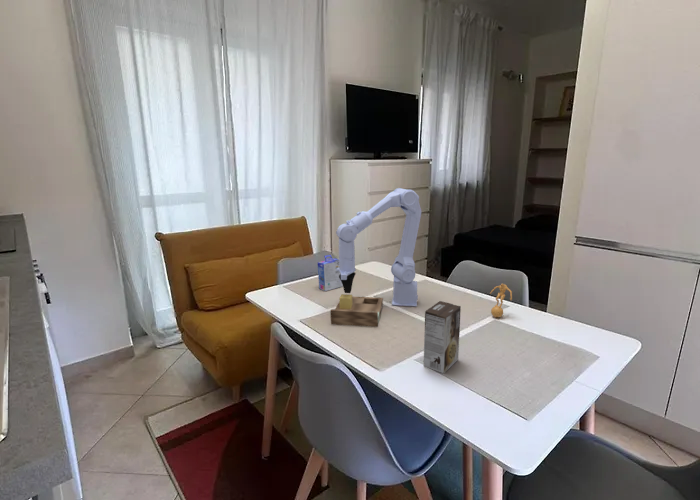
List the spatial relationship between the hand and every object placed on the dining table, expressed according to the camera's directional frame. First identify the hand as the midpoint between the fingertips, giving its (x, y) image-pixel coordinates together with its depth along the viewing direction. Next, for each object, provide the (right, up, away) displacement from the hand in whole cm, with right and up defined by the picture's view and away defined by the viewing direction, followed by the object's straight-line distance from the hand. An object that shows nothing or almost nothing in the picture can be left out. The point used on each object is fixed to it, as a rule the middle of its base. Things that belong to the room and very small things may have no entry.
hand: (347, 292), depth 139 cm
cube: (-1, -5, -2) cm, 5 cm away
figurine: (+53, -8, -7) cm, 54 cm away
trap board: (+4, -7, -2) cm, 9 cm away
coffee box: (+26, -15, -36) cm, 47 cm away
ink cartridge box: (-8, -1, +27) cm, 28 cm away
